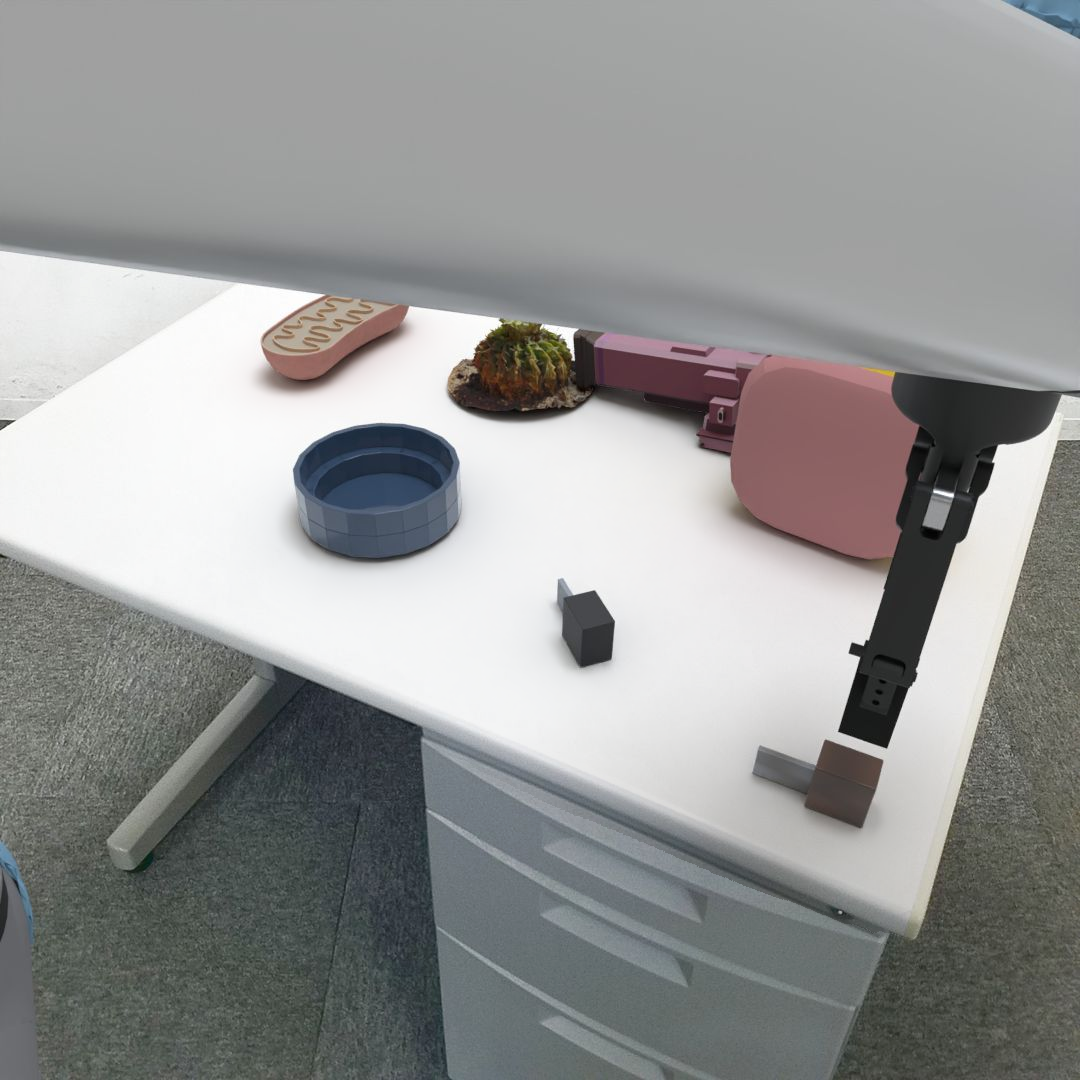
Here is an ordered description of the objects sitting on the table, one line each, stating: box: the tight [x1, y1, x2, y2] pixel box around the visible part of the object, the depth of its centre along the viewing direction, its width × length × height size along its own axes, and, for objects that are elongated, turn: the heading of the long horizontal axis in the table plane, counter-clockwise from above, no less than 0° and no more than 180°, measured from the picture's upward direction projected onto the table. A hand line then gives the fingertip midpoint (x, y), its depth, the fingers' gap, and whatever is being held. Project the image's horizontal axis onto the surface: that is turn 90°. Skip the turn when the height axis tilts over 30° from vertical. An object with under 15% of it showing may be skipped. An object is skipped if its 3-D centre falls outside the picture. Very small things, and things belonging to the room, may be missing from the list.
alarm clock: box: [729, 355, 921, 560], centre depth 87 cm, size 18×11×19 cm, turn 56°
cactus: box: [447, 318, 595, 412], centre depth 110 cm, size 17×16×10 cm
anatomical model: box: [259, 295, 410, 381], centre depth 117 cm, size 23×10×5 cm, turn 151°
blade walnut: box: [752, 739, 885, 829], centre depth 66 cm, size 8×3×4 cm, turn 64°
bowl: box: [292, 422, 462, 559], centre depth 91 cm, size 15×15×6 cm
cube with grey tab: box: [556, 577, 616, 668], centre depth 79 cm, size 8×3×4 cm, turn 21°
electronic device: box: [572, 329, 772, 454], centre depth 105 cm, size 11×27×10 cm, turn 59°
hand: (886, 658), depth 58 cm, fingers open, 13 cm apart
